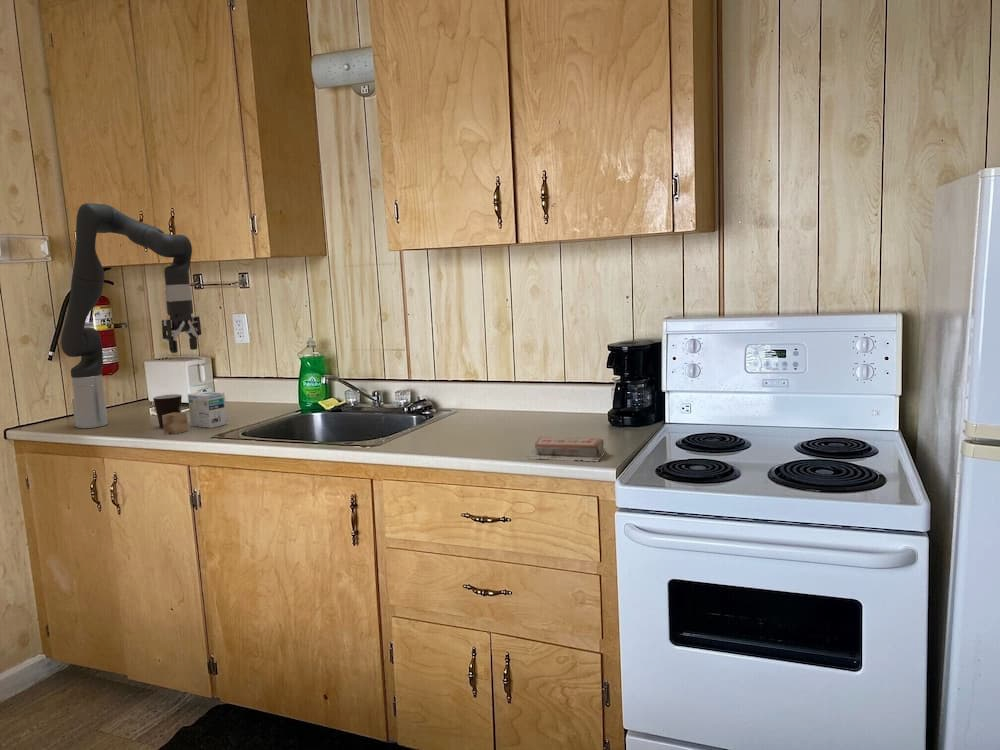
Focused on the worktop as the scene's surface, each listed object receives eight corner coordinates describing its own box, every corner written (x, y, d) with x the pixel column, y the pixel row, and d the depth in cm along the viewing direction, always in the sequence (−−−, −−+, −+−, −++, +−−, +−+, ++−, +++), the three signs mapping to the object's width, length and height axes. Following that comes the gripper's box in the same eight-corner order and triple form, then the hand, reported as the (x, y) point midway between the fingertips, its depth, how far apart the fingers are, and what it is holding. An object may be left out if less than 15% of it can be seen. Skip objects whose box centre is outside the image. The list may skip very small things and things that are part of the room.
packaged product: (606, 435, 190) (598, 444, 181) (607, 454, 191) (598, 464, 181) (537, 433, 196) (525, 441, 187) (537, 451, 197) (526, 461, 187)
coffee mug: (174, 429, 248) (171, 398, 246) (150, 429, 249) (147, 398, 248) (195, 421, 259) (192, 392, 257) (172, 422, 261) (169, 393, 259)
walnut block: (164, 434, 240) (162, 415, 240) (175, 430, 245) (173, 412, 244) (176, 434, 239) (174, 415, 238) (188, 431, 243) (186, 412, 242)
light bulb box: (228, 424, 251) (225, 392, 250) (210, 428, 246) (207, 395, 244) (207, 422, 257) (204, 390, 256) (189, 426, 251) (186, 394, 250)
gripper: (185, 298, 246) (190, 348, 248) (152, 300, 233) (157, 353, 235) (204, 298, 244) (209, 348, 246) (171, 300, 230) (177, 353, 233)
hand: (184, 351), depth 240 cm, fingers open, 8 cm apart
